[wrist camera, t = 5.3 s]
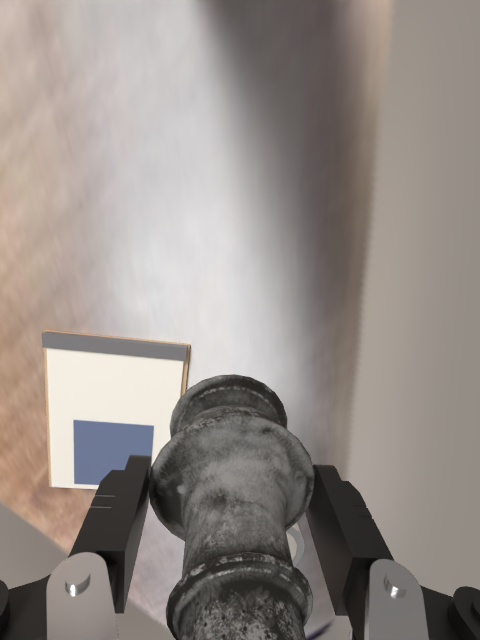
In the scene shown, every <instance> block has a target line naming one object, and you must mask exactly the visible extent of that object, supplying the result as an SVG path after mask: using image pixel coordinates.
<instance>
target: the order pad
mask: <svg viewBox="0 0 480 640" xmlns="http://www.w3.org/2000/svg"><path fill="white" fill-rule="evenodd" d="M42 344H43V347H44V366H45V391H46V416H47V441H48V467H49V487H64V488H83V489H98V487H99V484H100V482H101V480H102V479H103V478H104V477H105V476H106V475H107V474H108V473H109V472H110V471H111V470H125V467H126V464H127V462H128V459H129V456H130V455H149V456H152V463H151V467H152V465H153V463H154V461H155V459H156V457H157V456H158V454H159V452H160V450H161V449H162V448H163V447H164V446H165V445H166V444H167V443H168V442H169V441H170V440H171V435H170V421H171V416H172V412H173V410H174V408H175V406H176V404H177V402H178V400H179V399H180V398H181V397H182V396H183V395H184V394H185V391H186V380H187V370H188V360H189V350H190V344H183V343H173V342H163V341H153V340H143V339H133V338H123V337H113V336H103V335H93V334H83V333H73V332H63V331H53V330H44V331H43V333H42Z"/></svg>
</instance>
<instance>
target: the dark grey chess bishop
mask: <svg viewBox="0 0 480 640" xmlns="http://www.w3.org/2000/svg"><path fill="white" fill-rule="evenodd" d="M170 435H171V440H170V441H169V442H168V443H167V444H166V445H165V446H164V447H163V448H162V449H161V450H160V452H159V454H158V456H157V457H156V459H155V461H154V463H153V465H152V467H151V472H150V477H149V483H148V491H149V498H150V504H151V506H152V508H153V510H154V512H155V514H156V516H157V518H158V519H159V521H160V522H161V523H162V524H163V525H164V526H165V527H166V528H167V529H168V530H169V531H170V532H171V533H172V534H174V535H175V536H177V537H179V538H180V539H182V540H184V541H185V549H184V560H183V571H182V579H181V580H180V581H179V582H178V583H177V585H176V586H175V588H174V589H173V591H172V592H171V594H170V596H169V600H168V603H167V607H166V618H167V626H168V628H169V629H170V631H171V633H172V635H173V637H174V638H175V639H176V640H306V638H305V633H304V628H303V627H304V626H305V625H306V623H307V621H308V618H309V616H310V614H311V612H312V604H313V595H312V592H311V589H310V586H309V583H308V580H307V579H306V578H305V577H304V575H303V574H302V573H301V572H300V570H299V569H297V568H296V567H294V566H293V562H292V558H291V553H290V548H289V544H288V539H287V535H286V531H287V530H288V529H290V528H291V527H292V526H293V525H294V524H296V523H297V521H298V520H299V519H300V517H301V516H302V514H303V513H304V512H305V510H306V509H307V508H308V505H309V502H310V499H311V496H312V493H313V487H314V479H315V472H314V469H313V465H312V462H311V459H310V455H309V453H308V452H307V451H306V449H305V448H304V446H303V445H302V443H301V442H300V440H299V439H298V438H297V437H295V436H294V435H293V434H292V433H290V432H289V431H288V430H287V416H286V413H285V410H284V406H283V404H282V402H281V401H280V399H279V398H278V396H277V395H276V393H275V392H274V391H272V390H271V389H270V388H269V387H267V386H266V385H265V384H264V383H262V382H259V381H257V380H255V379H253V378H251V377H245V376H240V375H219V376H215V377H212V378H209V379H205V380H203V381H201V382H199V383H198V384H196V385H194V386H193V387H191V388H189V389H188V390H187V391H186V393H185V394H184V395H183V396H182V397H181V398H180V399H179V400H178V402H177V404H176V406H175V408H174V410H173V412H172V416H171V421H170Z"/></svg>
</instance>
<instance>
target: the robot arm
mask: <svg viewBox="0 0 480 640" xmlns="http://www.w3.org/2000/svg"><path fill="white" fill-rule="evenodd" d="M151 463H152V456H149V455H130V456H129V459H128V462H127V464H126V467H125V470H111V471H110V472H109V473H108V474H107V475H106V476H105V477H104V478H103V479H102V480H101V482H100V484H99V487H98V489H97V492H96V494H95V497H94V499H93V501H92V503H91V506H90V508H89V510H88V513H87V515H86V517H85V520H84V522H83V525H82V527H81V529H80V532H79V534H78V536H77V539H76V541H75V543H74V546H73V548H72V550H71V553H70V554H69V556H68V558H67V559H65V560H64V561H63V562H62V563H60V564H59V565H58V566H57V567H56V568H55V570H54V571H53V572H52V574H50V575H48V576H47V577H45V578H43V579H41V580H38V581H35V582H32V583H29V584H26V585H22V586H19V587H15V588H12V589H9V590H8V588H7V586H6V584H5V583H4V582H3V581H1V580H0V640H120V639H119V633H118V628H117V622H116V616H115V613H124V609H125V605H126V601H127V596H128V592H129V588H130V583H131V579H132V574H133V570H134V566H135V561H136V557H137V552H138V548H139V544H140V539H141V535H142V531H143V526H144V522H145V517H146V513H147V509H148V503H149V491H148V483H149V477H150V472H151ZM313 469H314V472H315V479H314V487H313V493H312V496H311V499H310V502H309V505H308V508H307V509H306V510H305V512H306V517H307V520H308V524H309V527H310V530H311V534H312V537H313V540H314V544H315V547H316V551H317V554H318V557H319V561H320V564H321V568H322V571H323V574H324V578H325V581H326V584H327V588H328V591H329V595H330V598H331V601H332V605H333V608H334V611H335V615H343V616H348V617H349V620H350V622H351V626H352V627H351V630H350V634H349V640H480V590H478V589H475V588H472V587H467V586H465V587H460V588H458V589H457V590H456V591H455V593H454V595H453V597H451V596H448V595H445V594H442V593H439V592H436V591H433V590H431V589H428V588H425V587H423V586H421V585H419V583H418V581H417V580H416V578H415V577H414V576H413V575H412V573H410V572H409V570H407V569H406V568H405V567H404V566H402V565H400V564H399V563H397V562H395V561H394V559H393V557H392V555H391V553H390V551H389V549H388V547H387V545H386V543H385V541H384V539H383V537H382V535H381V533H380V531H379V529H378V528H377V526H376V524H375V522H374V520H373V519H372V516H371V514H370V512H369V510H368V508H366V504H365V502H364V500H363V498H362V496H361V494H360V493H359V492H358V490H357V489H356V488H355V487H354V486H352V484H351V483H350V482H349V481H342V480H341V478H340V476H339V474H338V472H337V469H336V468H335V466H333V465H313Z"/></svg>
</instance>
